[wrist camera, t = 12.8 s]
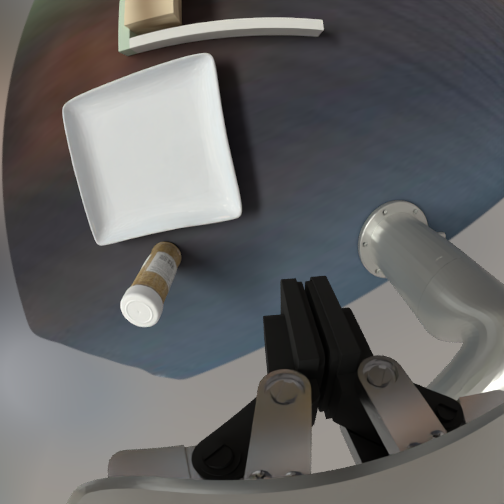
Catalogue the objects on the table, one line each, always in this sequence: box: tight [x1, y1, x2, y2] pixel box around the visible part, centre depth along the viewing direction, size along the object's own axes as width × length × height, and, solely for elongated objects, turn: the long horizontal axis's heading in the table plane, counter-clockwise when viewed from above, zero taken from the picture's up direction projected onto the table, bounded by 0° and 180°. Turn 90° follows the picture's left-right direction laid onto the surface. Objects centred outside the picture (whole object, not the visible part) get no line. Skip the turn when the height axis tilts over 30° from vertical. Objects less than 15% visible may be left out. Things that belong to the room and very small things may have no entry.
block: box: [124, 0, 182, 35], centre depth 22 cm, size 6×6×5 cm
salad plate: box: [63, 53, 242, 245], centre depth 31 cm, size 21×21×3 cm
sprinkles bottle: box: [121, 242, 181, 327], centre depth 33 cm, size 5×5×13 cm
